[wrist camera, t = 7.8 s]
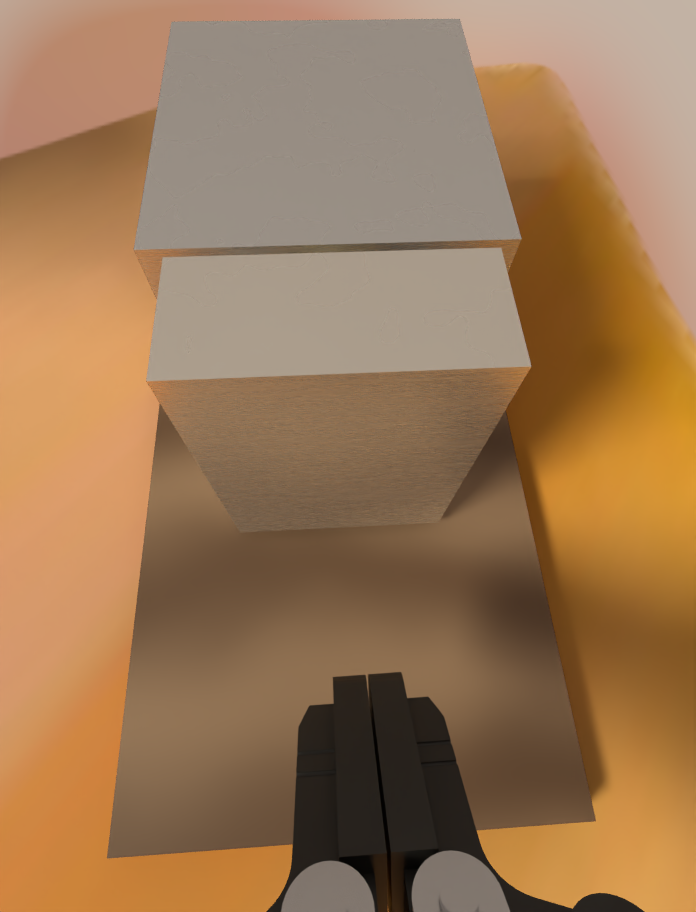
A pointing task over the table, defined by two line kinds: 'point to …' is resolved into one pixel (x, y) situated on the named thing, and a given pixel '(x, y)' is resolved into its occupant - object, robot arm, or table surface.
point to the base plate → (334, 656)
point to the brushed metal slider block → (336, 379)
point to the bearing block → (320, 143)
